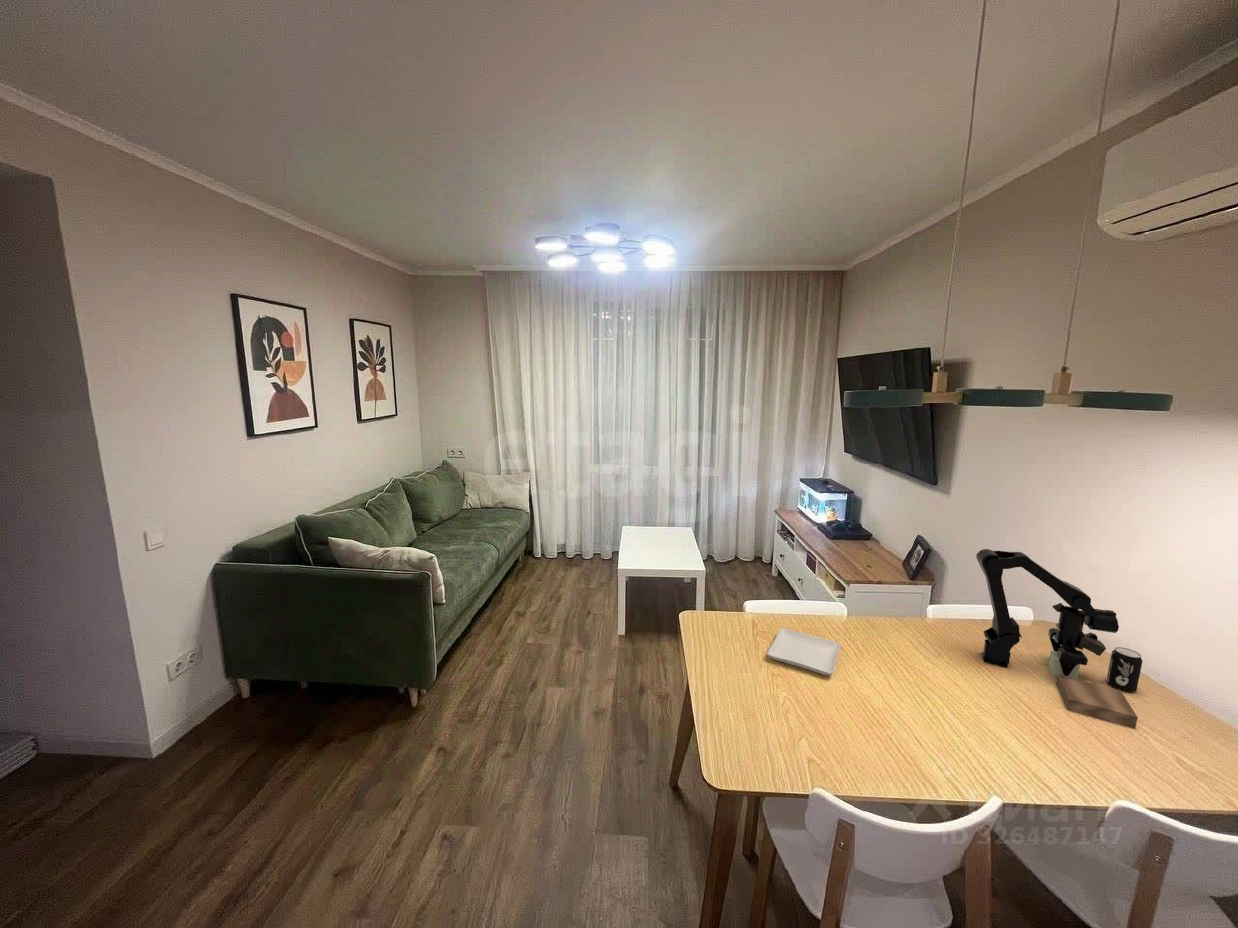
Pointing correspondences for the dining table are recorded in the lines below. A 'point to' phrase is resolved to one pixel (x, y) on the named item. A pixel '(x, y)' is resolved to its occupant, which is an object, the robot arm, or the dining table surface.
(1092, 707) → the walnut box
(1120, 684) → the beverage can
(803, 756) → the dining table surface
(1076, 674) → the sage cube
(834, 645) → the salad plate
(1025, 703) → the dining table surface
